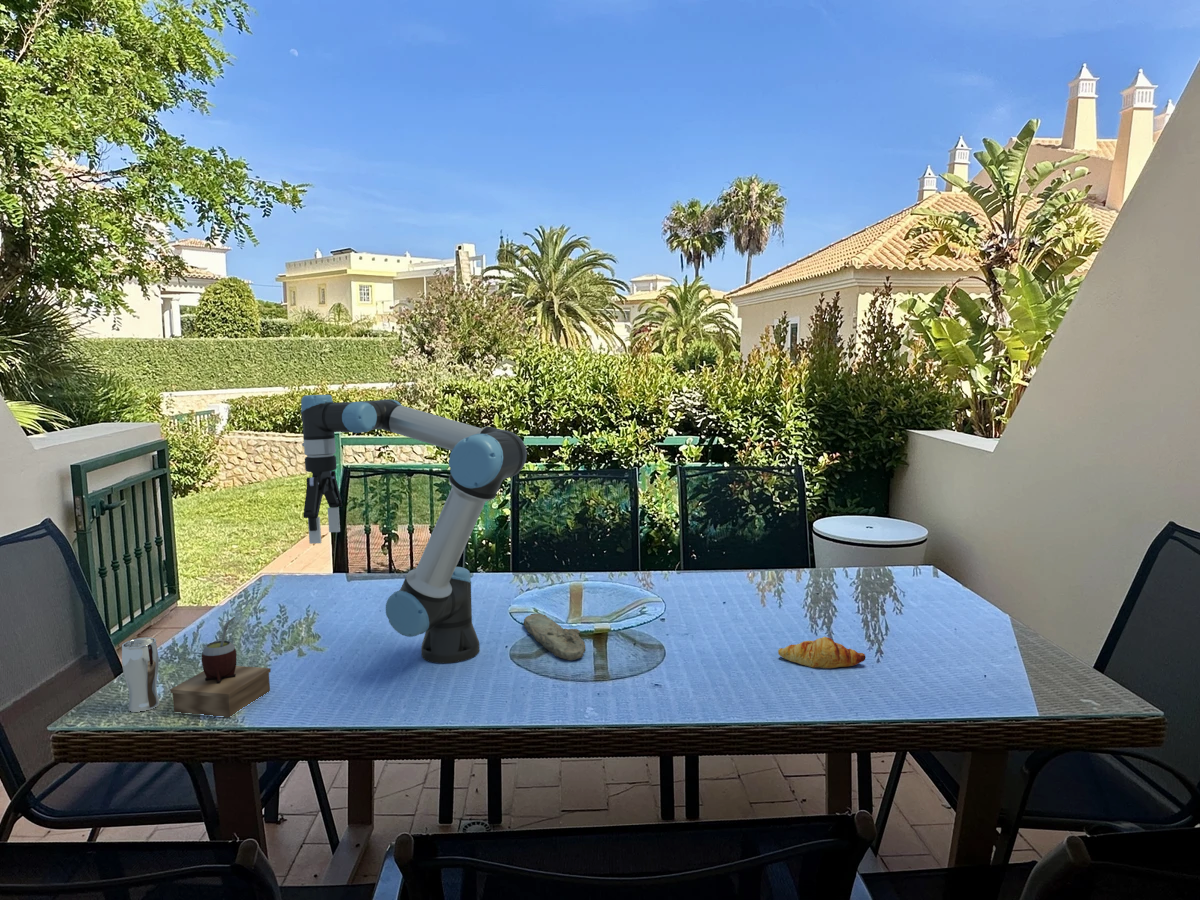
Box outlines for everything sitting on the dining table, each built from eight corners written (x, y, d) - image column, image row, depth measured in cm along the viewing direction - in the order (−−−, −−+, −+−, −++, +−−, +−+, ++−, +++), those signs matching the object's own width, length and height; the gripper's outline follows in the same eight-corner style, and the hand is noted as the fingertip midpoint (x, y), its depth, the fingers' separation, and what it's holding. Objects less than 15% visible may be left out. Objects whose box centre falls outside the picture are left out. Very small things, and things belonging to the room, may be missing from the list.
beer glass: (168, 699, 176) (163, 636, 174) (151, 713, 169) (146, 647, 167) (137, 700, 175) (132, 637, 174) (119, 714, 168) (113, 648, 167)
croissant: (777, 676, 193) (776, 654, 189) (778, 645, 201) (777, 624, 197) (866, 682, 187) (867, 660, 183) (863, 650, 195) (864, 628, 191)
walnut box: (272, 692, 180) (270, 668, 179) (230, 720, 165) (228, 694, 165) (217, 688, 183) (215, 664, 182) (172, 715, 168) (170, 689, 168)
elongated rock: (547, 624, 229) (516, 631, 225) (545, 607, 228) (514, 614, 224) (596, 657, 197) (560, 666, 193) (594, 637, 197) (558, 645, 192)
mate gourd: (206, 674, 176) (202, 611, 174) (243, 670, 178) (239, 607, 177) (200, 687, 169) (195, 621, 167) (239, 682, 171) (234, 617, 170)
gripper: (323, 450, 207) (328, 527, 209) (285, 461, 182) (291, 548, 184) (351, 450, 207) (355, 527, 209) (316, 460, 182) (322, 547, 184)
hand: (325, 537), depth 196 cm, fingers open, 13 cm apart
